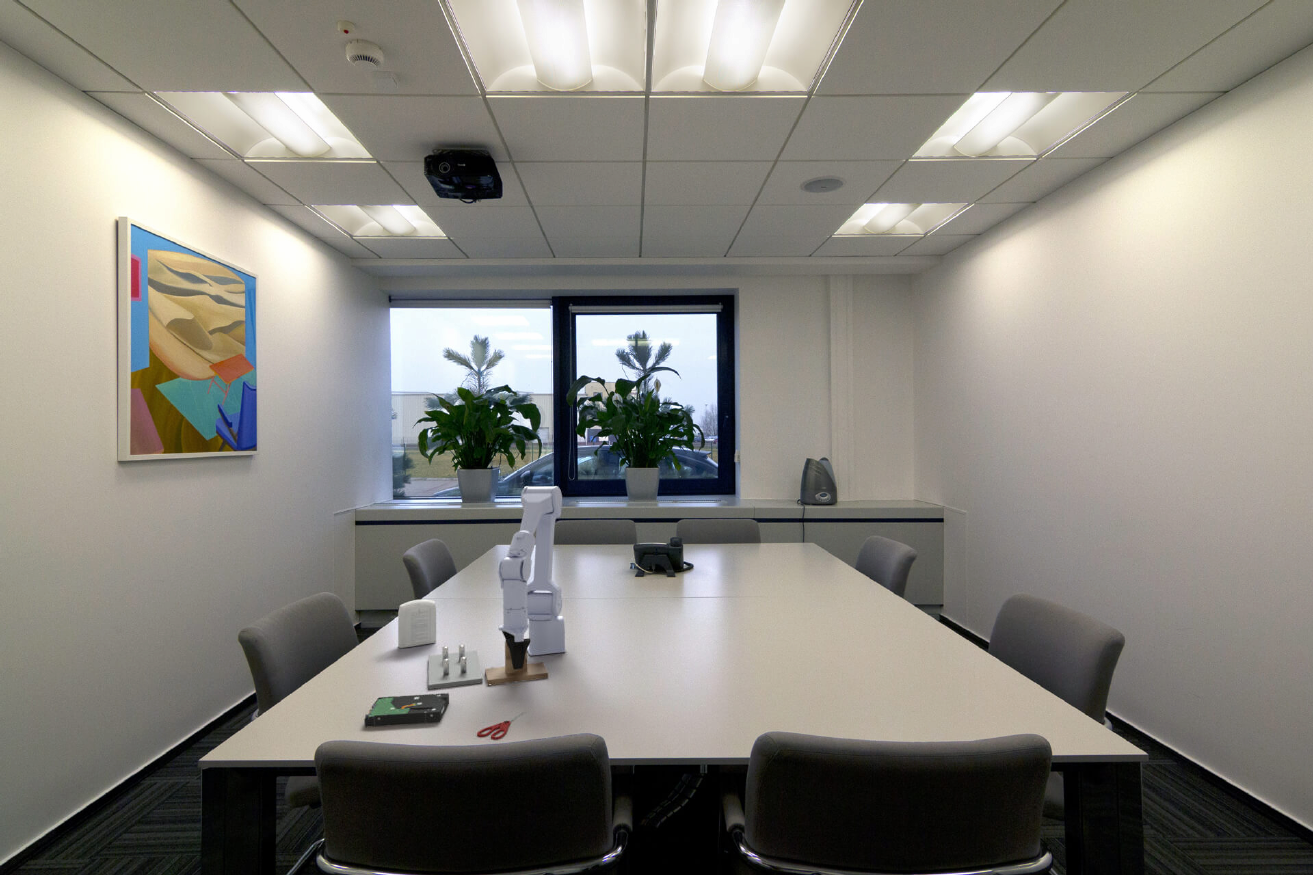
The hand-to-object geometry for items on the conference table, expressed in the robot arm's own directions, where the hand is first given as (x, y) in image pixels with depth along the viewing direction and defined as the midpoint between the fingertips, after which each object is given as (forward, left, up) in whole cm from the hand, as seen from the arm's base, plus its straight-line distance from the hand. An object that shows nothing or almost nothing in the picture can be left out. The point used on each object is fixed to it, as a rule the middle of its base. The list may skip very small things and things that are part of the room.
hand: (516, 663), depth 162 cm
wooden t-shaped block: (0, 0, -3) cm, 3 cm away
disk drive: (+24, +15, -4) cm, 29 cm away
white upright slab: (+23, -35, -3) cm, 42 cm away
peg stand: (+14, -9, -3) cm, 17 cm away
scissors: (+5, +27, -4) cm, 28 cm away
